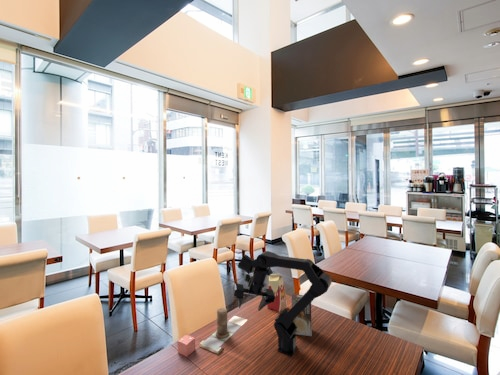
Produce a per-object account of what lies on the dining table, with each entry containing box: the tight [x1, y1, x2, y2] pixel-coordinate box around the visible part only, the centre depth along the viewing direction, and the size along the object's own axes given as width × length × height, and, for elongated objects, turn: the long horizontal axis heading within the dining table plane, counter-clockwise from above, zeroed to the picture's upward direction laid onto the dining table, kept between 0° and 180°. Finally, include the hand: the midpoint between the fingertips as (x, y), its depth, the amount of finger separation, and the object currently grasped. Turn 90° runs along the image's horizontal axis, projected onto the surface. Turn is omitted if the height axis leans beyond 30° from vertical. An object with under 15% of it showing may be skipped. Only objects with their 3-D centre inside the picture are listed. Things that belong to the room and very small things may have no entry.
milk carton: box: [266, 273, 288, 313], centre depth 140 cm, size 9×9×20 cm
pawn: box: [215, 307, 229, 340], centre depth 115 cm, size 6×6×11 cm
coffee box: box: [291, 293, 313, 337], centre depth 120 cm, size 9×6×16 cm
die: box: [177, 334, 196, 358], centre depth 107 cm, size 5×5×5 cm
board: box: [198, 315, 248, 355], centre depth 118 cm, size 10×26×1 cm, turn 150°
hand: (248, 308), depth 116 cm, fingers open, 9 cm apart
